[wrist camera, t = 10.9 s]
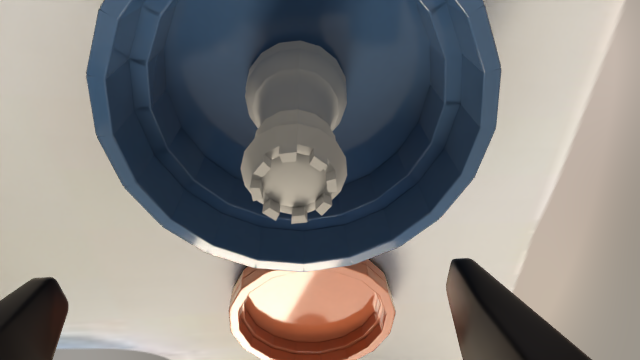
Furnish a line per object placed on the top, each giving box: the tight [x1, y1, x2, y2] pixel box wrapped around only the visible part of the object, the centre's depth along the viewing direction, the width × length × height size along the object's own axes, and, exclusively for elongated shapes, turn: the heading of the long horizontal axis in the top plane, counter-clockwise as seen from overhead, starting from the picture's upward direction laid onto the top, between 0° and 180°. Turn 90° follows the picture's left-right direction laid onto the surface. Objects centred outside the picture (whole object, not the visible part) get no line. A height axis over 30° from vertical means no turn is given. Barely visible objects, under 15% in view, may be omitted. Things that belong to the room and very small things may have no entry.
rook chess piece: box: [240, 41, 347, 224], centre depth 15 cm, size 4×4×8 cm
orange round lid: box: [229, 259, 395, 360], centre depth 26 cm, size 10×10×2 cm
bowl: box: [86, 0, 501, 272], centre depth 17 cm, size 14×14×5 cm
